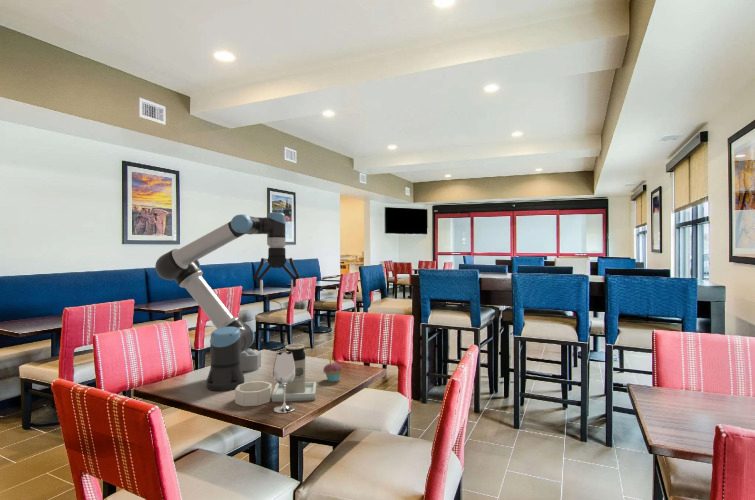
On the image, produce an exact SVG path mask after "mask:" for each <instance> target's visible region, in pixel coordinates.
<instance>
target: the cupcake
mask: <svg viewBox="0 0 755 500" xmlns="http://www.w3.org/2000/svg"><path fill="white" fill-rule="evenodd" d="M328 359H329V363H328V364H326V365H325V366H324V367H323V373H324V374H325V375H326V378H327V381H328V382H338V381H339V380H340V376H341V374H342V373H343V372H344V369H343V366H342V365H341V364H339V363H338V362H332V356H331V354H330V353H328Z"/></svg>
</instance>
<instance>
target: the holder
mask: <svg viewBox="0 0 755 500" xmlns="http://www.w3.org/2000/svg"><path fill="white" fill-rule="evenodd" d="M234 390H235V392H234V395H235V396H234V398H235V399H234V401H235V404H237V405H239V406H241V407H255V406H256V407H257V406H261V405H264V404H267V403H270V402H271V401H272V393H273V383H271V382H268V381H263V380H261V381H259V380H258V381H255V380H254V381H247V382H244V383H243V384H240V385H238V386H237V388H235V389H234Z"/></svg>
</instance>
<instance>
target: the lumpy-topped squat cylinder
mask: <svg viewBox="0 0 755 500" xmlns="http://www.w3.org/2000/svg"><path fill="white" fill-rule="evenodd" d="M240 367H241V370H242V372H254V371H258V370H259V369H260V368H261V367H262V352H261V351H260V350H258V349H252V348H250V347H249V348H248V349H247V350H245V351H243V352H241V353H240Z"/></svg>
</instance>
